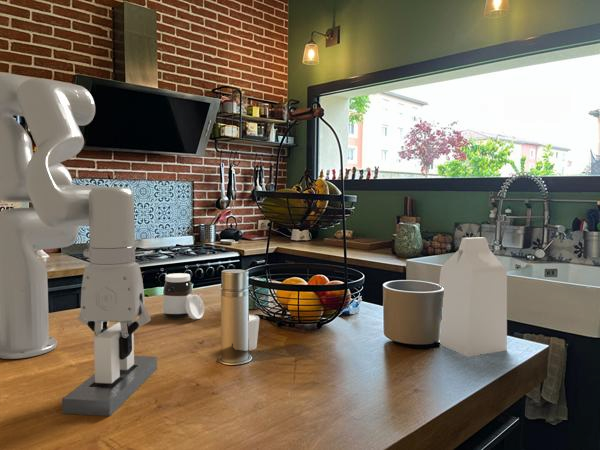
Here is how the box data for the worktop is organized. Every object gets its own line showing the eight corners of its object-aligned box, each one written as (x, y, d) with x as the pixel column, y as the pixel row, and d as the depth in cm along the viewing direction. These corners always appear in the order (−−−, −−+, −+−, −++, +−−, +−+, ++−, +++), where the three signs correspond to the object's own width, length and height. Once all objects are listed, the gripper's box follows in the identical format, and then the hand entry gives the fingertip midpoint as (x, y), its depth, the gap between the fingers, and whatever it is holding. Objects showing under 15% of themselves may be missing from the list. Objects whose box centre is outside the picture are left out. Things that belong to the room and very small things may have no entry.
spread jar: (167, 311, 140) (166, 272, 139) (206, 310, 141) (206, 272, 140) (159, 322, 128) (159, 280, 127) (202, 322, 130) (202, 280, 129)
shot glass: (254, 353, 106) (254, 322, 106) (225, 350, 108) (225, 320, 107) (262, 343, 113) (263, 314, 112) (235, 341, 114) (235, 312, 114)
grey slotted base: (62, 413, 77) (62, 398, 77) (119, 366, 97) (118, 354, 97) (109, 416, 77) (109, 401, 76) (157, 368, 97) (156, 356, 96)
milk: (471, 335, 122) (475, 234, 119) (506, 350, 111) (512, 239, 109) (433, 341, 117) (437, 236, 115) (466, 356, 106) (472, 241, 104)
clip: (95, 382, 82) (93, 337, 82) (119, 363, 91) (118, 322, 90) (111, 383, 82) (110, 338, 81) (134, 364, 91) (133, 323, 90)
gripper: (56, 258, 82) (60, 362, 83) (149, 260, 80) (150, 366, 82) (80, 252, 89) (83, 348, 91) (165, 254, 88) (166, 351, 89)
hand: (115, 355), depth 86 cm, fingers closed on clip, 3 cm apart
